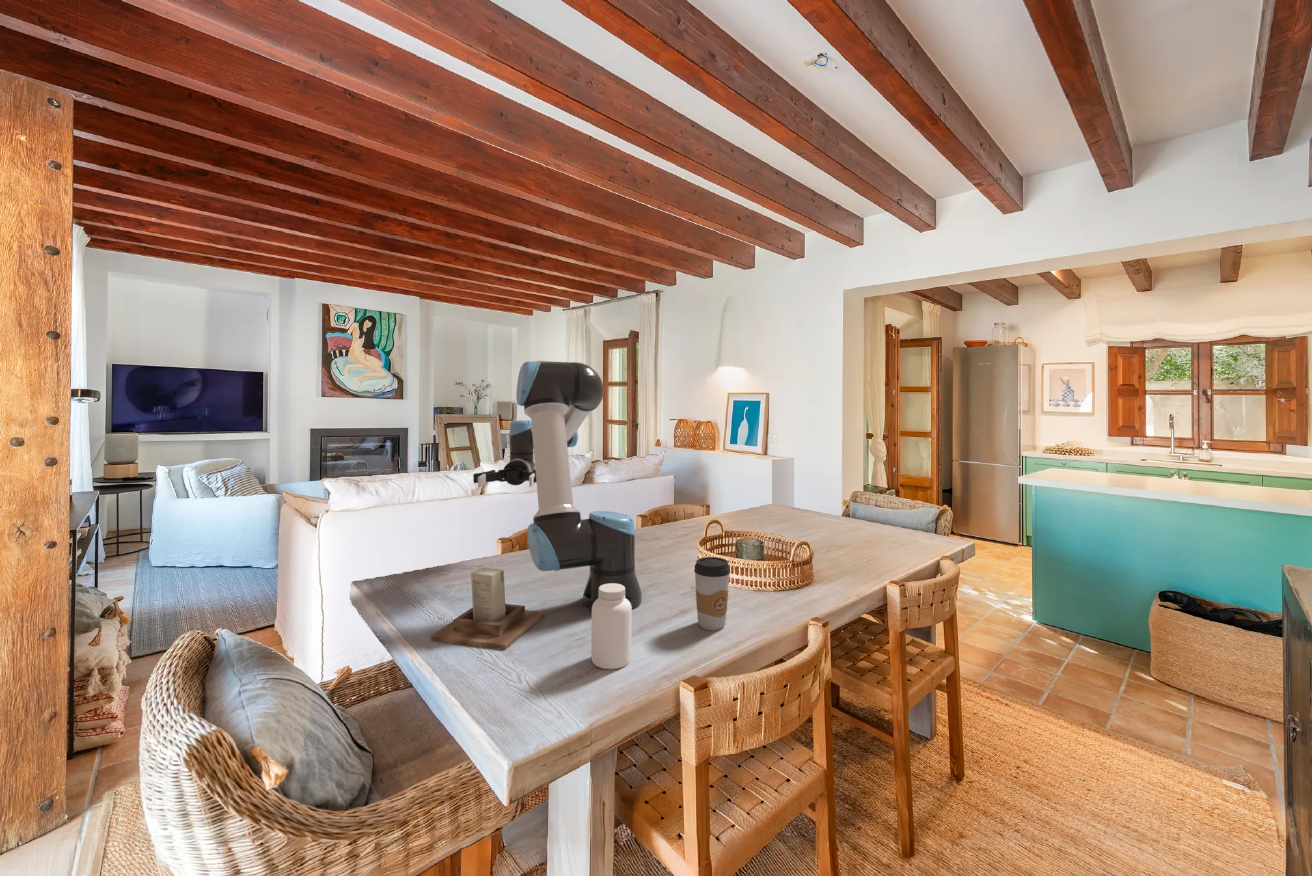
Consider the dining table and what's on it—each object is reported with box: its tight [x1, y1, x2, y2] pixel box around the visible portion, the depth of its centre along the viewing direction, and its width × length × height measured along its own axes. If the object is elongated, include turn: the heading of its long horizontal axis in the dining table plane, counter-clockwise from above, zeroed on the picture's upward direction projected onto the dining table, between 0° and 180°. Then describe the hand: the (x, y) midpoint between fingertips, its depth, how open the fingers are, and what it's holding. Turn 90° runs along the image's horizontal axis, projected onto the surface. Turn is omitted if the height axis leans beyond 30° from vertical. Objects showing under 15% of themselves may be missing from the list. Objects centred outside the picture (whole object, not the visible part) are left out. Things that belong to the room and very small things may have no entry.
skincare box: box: [470, 567, 506, 622], centre depth 121 cm, size 6×4×12 cm
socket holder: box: [430, 603, 545, 650], centre depth 122 cm, size 18×18×4 cm
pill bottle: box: [590, 583, 633, 670], centre depth 106 cm, size 8×8×15 cm
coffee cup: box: [694, 556, 731, 631], centre depth 123 cm, size 8×8×15 cm
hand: (505, 482), depth 144 cm, fingers open, 13 cm apart
